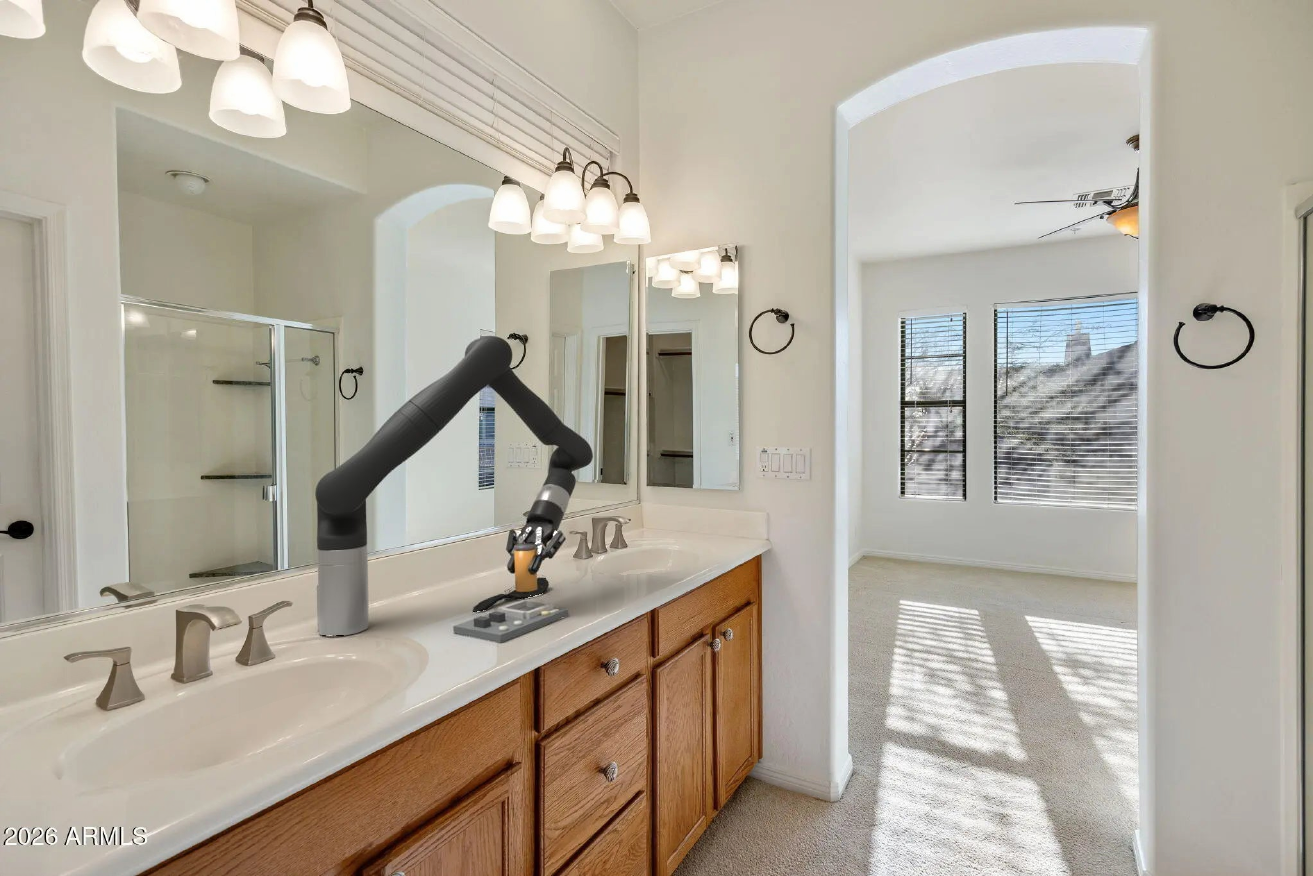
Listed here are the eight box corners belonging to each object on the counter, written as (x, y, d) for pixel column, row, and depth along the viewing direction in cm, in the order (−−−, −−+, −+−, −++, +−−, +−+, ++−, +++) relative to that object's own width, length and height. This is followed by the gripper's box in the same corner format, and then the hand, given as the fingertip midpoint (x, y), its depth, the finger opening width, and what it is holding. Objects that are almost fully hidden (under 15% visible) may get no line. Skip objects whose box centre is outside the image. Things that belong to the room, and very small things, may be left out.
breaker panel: (453, 633, 124) (453, 617, 124) (523, 609, 141) (523, 595, 141) (500, 643, 117) (500, 626, 117) (568, 616, 134) (568, 601, 134)
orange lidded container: (510, 590, 132) (509, 546, 132) (526, 585, 136) (524, 542, 136) (526, 592, 130) (525, 547, 130) (541, 587, 134) (540, 543, 134)
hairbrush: (459, 600, 141) (530, 572, 163) (460, 616, 141) (531, 586, 163) (487, 604, 137) (555, 575, 159) (488, 620, 137) (556, 589, 159)
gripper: (515, 498, 143) (484, 560, 131) (570, 498, 138) (542, 563, 126) (529, 518, 148) (500, 580, 136) (582, 519, 142) (556, 583, 131)
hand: (520, 571), depth 131 cm, fingers closed on orange lidded container, 4 cm apart
